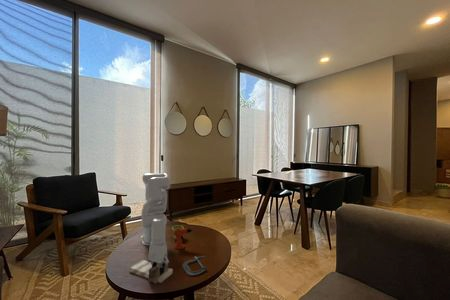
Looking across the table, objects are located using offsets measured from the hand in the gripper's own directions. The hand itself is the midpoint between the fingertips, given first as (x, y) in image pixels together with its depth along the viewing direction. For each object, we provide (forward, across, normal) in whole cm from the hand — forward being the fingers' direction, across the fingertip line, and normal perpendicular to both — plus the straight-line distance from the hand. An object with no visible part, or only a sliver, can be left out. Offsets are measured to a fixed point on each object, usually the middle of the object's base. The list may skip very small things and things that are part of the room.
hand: (158, 271), depth 124 cm
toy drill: (+4, -9, +38) cm, 40 cm away
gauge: (+3, 0, 0) cm, 3 cm away
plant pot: (+4, -25, +49) cm, 55 cm away
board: (+4, -8, +2) cm, 9 cm away
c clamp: (+5, +12, +21) cm, 25 cm away
